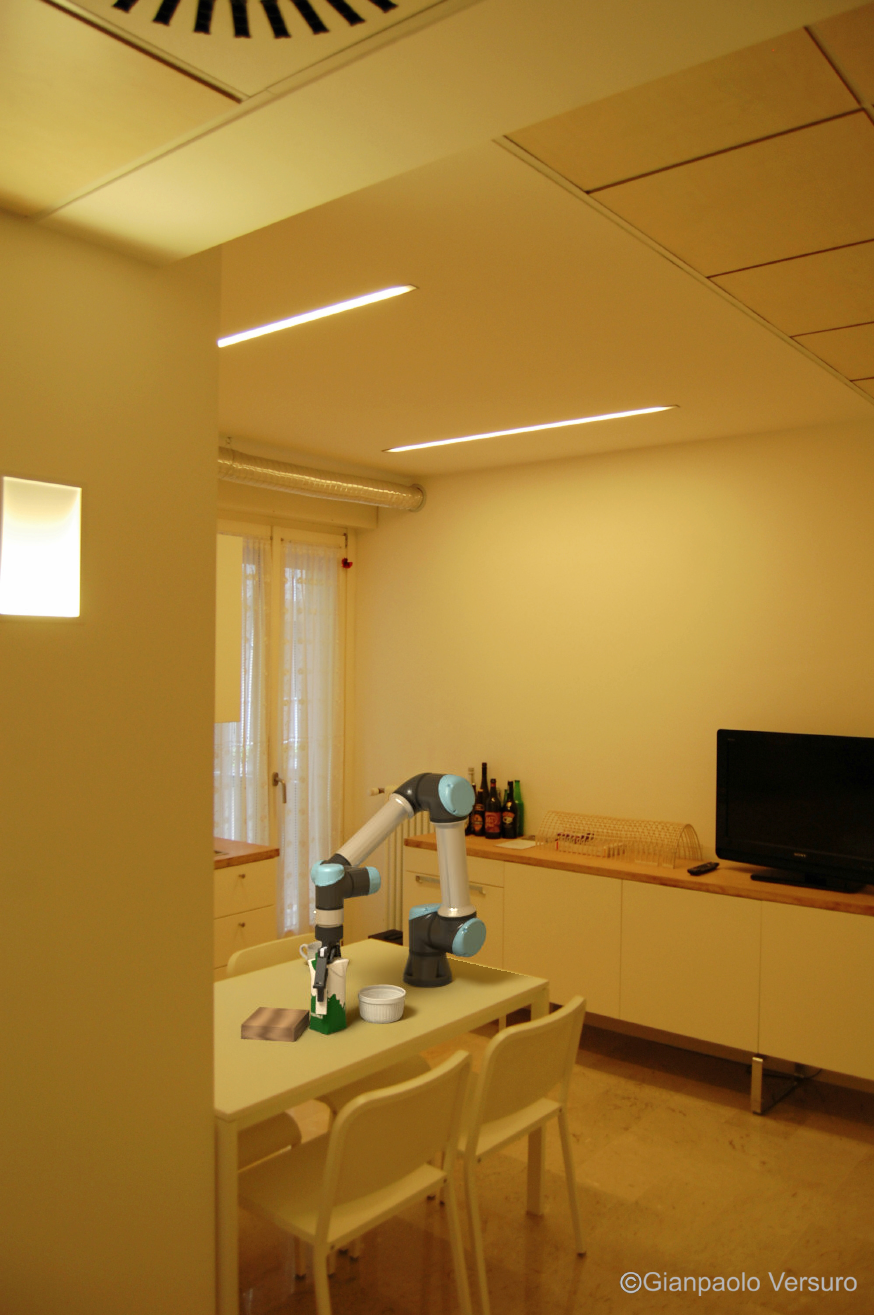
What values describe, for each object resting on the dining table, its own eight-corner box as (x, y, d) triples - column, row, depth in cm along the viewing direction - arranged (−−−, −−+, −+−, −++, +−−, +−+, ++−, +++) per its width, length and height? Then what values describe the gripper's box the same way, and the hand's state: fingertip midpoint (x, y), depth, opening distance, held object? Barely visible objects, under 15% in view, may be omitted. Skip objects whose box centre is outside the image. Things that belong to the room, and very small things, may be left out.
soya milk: (304, 1029, 252) (304, 952, 253) (330, 1020, 259) (330, 945, 259) (326, 1037, 246) (327, 958, 247) (352, 1028, 253) (352, 951, 254)
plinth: (309, 1025, 256) (309, 1010, 256) (293, 1044, 242) (294, 1028, 243) (259, 1022, 258) (259, 1007, 259) (240, 1040, 245) (241, 1024, 245)
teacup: (347, 968, 307) (347, 943, 308) (325, 977, 298) (326, 951, 298) (313, 962, 315) (313, 937, 315) (291, 970, 305) (291, 944, 306)
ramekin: (414, 1014, 264) (415, 989, 264) (388, 1029, 252) (388, 1002, 253) (375, 1006, 271) (375, 981, 271) (347, 1020, 259) (347, 994, 259)
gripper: (327, 913, 266) (326, 990, 265) (301, 935, 242) (300, 1020, 241) (354, 914, 265) (353, 991, 264) (330, 936, 241) (329, 1022, 240)
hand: (328, 1005), depth 253 cm, fingers open, 13 cm apart
